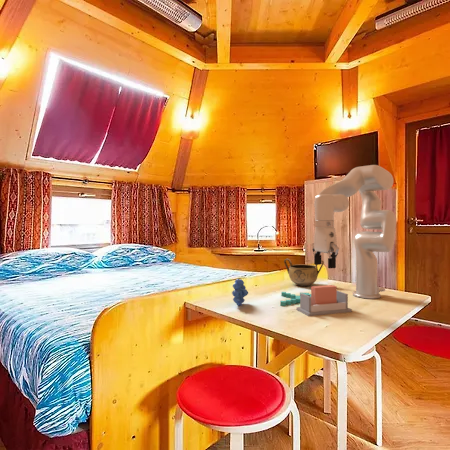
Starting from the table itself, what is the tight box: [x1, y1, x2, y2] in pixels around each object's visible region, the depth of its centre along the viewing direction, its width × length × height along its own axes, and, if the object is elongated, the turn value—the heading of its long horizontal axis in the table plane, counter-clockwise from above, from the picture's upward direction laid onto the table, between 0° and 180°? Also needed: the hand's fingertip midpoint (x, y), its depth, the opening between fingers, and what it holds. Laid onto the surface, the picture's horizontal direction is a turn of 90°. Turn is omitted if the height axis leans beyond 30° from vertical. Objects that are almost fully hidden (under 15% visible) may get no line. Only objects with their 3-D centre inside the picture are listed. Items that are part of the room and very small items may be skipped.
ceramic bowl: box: [283, 258, 325, 287], centre depth 181 cm, size 22×17×15 cm
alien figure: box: [280, 291, 311, 307], centre depth 145 cm, size 20×2×20 cm
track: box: [296, 290, 353, 317], centre depth 129 cm, size 20×9×7 cm, turn 107°
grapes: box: [231, 278, 249, 307], centre depth 137 cm, size 12×7×12 cm, turn 156°
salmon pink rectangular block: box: [310, 284, 338, 305], centre depth 129 cm, size 10×3×9 cm, turn 107°
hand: (324, 266), depth 129 cm, fingers open, 9 cm apart
